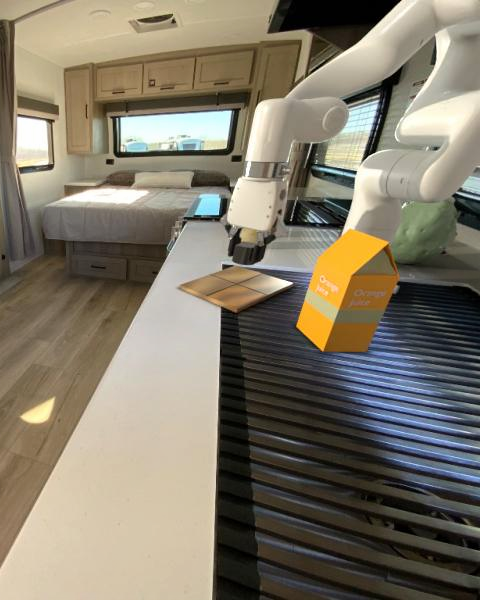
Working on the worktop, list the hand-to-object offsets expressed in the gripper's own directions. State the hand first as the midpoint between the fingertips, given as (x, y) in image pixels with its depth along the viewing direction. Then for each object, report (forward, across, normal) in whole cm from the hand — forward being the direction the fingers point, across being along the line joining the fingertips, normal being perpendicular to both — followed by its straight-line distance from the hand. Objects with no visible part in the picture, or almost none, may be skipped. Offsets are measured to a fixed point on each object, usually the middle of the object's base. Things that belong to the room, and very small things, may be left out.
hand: (244, 257), depth 73 cm
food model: (+10, +23, -41) cm, 48 cm away
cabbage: (+10, -14, -62) cm, 65 cm away
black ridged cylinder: (+1, 0, 0) cm, 1 cm away
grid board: (+10, +4, -6) cm, 13 cm away
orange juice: (+10, -20, +1) cm, 23 cm away
